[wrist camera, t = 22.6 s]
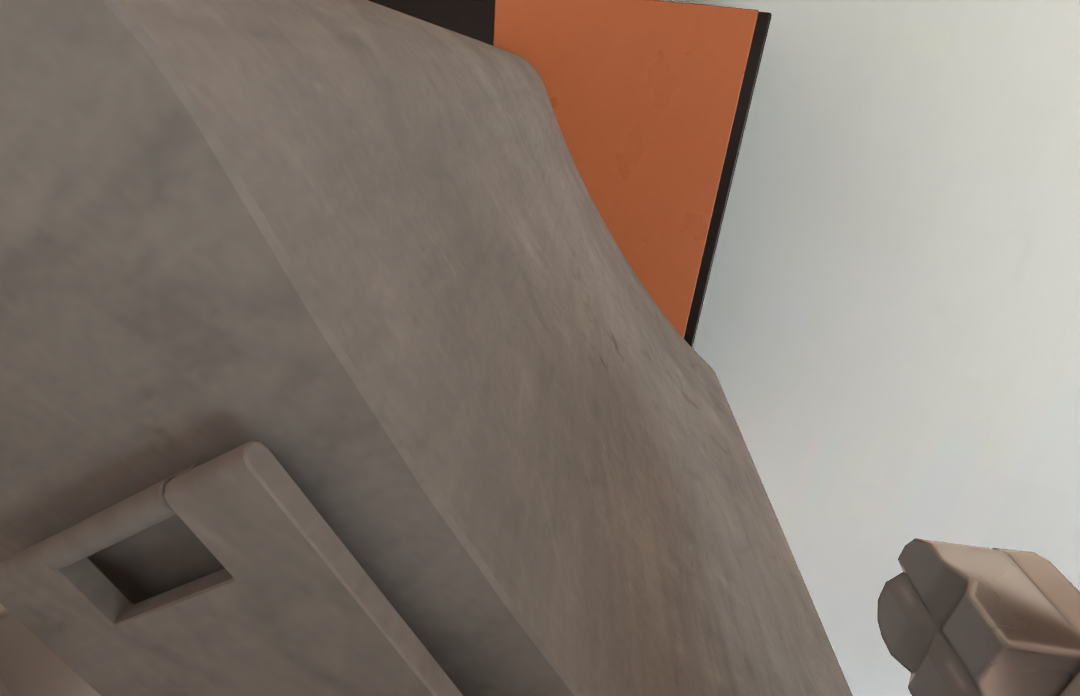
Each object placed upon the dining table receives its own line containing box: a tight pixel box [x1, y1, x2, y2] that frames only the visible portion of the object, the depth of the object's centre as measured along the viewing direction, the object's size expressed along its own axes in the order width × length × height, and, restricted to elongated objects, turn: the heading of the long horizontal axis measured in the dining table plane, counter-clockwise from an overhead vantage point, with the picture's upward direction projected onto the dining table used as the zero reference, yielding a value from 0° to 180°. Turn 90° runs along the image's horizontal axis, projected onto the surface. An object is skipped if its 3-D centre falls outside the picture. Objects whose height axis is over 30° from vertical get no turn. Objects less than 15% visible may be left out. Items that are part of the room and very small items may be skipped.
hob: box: [368, 0, 771, 347], centre depth 22 cm, size 19×16×3 cm
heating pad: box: [493, 0, 759, 338], centre depth 20 cm, size 8×16×1 cm, turn 175°
